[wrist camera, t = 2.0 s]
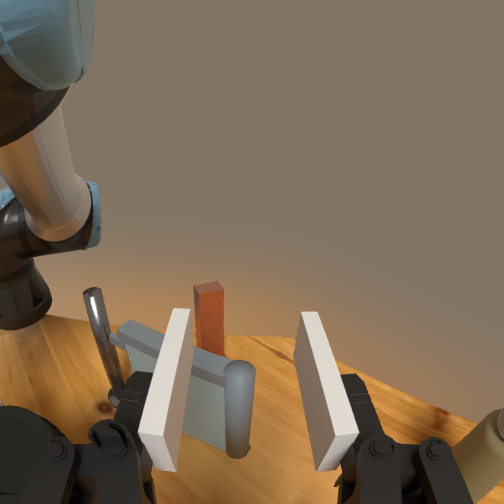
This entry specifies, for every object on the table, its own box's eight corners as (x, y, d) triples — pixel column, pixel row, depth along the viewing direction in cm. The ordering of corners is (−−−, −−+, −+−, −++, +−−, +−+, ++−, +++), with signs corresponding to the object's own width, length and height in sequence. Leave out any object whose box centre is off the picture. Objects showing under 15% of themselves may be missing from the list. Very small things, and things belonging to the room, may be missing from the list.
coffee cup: (68, 469, 21) (1, 380, 15) (146, 507, 20) (93, 436, 14) (31, 529, 12) (-64, 457, 6) (114, 578, 11) (24, 550, 5)
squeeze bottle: (405, 489, 21) (499, 380, 14) (447, 453, 24) (528, 342, 17) (443, 531, 14) (564, 437, 7) (483, 489, 17) (581, 384, 10)
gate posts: (111, 411, 30) (72, 306, 24) (105, 375, 36) (75, 274, 29) (239, 381, 38) (243, 276, 31) (220, 351, 43) (220, 252, 37)
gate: (125, 406, 31) (97, 320, 26) (137, 395, 33) (113, 308, 28) (243, 464, 26) (249, 386, 20) (252, 448, 28) (261, 366, 22)
